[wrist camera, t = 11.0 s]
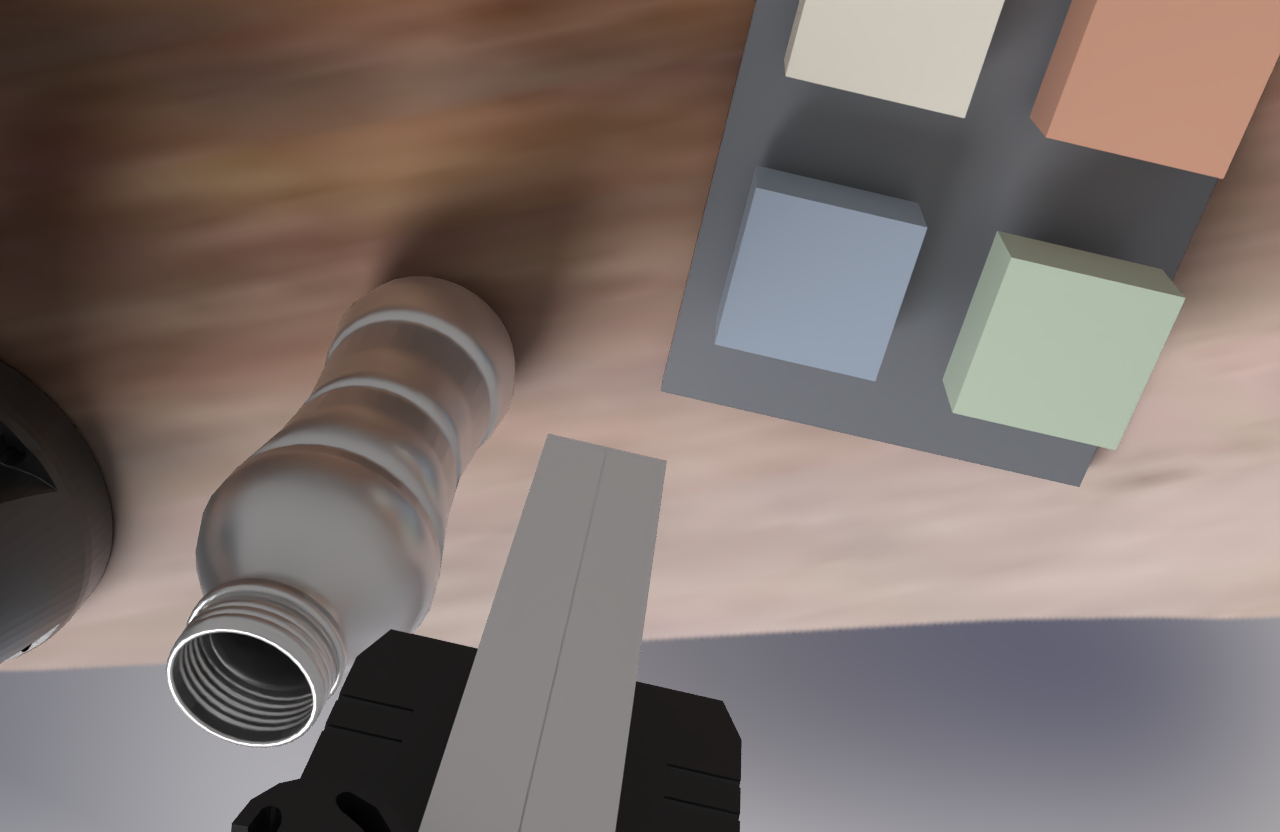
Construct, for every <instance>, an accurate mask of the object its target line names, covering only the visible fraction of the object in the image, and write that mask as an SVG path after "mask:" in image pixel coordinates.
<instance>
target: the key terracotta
mask: <svg viewBox="0 0 1280 832" xmlns="http://www.w3.org/2000/svg"><path fill="white" fill-rule="evenodd" d="M1279 55H1280V0H1072V2H1071V4H1070V7H1069V10H1068V13H1067V15H1066V18H1065V21H1064V24H1063V26H1062V29H1061V32H1060V35H1059V37H1058V40H1057V43H1056V46H1055V48H1054V51H1053V54H1052V56H1051V59H1050V62H1049V65H1048V67H1047V70H1046V73H1045V76H1044V78H1043V81H1042V84H1041V87H1040V89H1039V92H1038V95H1037V98H1036V100H1035V103H1034V106H1033V109H1032V111H1031V114H1030V118H1031V120H1032V121H1033V122H1034V123H1035V125H1036V126H1037V127H1038V128H1039V130H1040V131H1041V132H1042V133H1043V135H1044V136H1045V137H1046V138H1050V139H1055V140H1059V141H1063V142H1067V143H1072V144H1076V145H1080V146H1084V147H1089V148H1093V149H1097V150H1101V151H1106V152H1110V153H1114V154H1118V155H1123V156H1127V157H1131V158H1135V159H1140V160H1144V161H1148V162H1152V163H1157V164H1161V165H1165V166H1170V167H1174V168H1178V169H1182V170H1187V171H1191V172H1195V173H1199V174H1204V175H1208V176H1212V177H1216V178H1221V179H1224V177H1225V174H1226V172H1227V170H1228V168H1229V165H1230V163H1231V161H1232V159H1233V157H1234V154H1235V152H1236V150H1237V148H1238V146H1239V143H1240V141H1241V139H1242V137H1243V135H1244V132H1245V130H1246V128H1247V126H1248V123H1249V121H1250V119H1251V117H1252V115H1253V112H1254V110H1255V108H1256V106H1257V104H1258V101H1259V99H1260V97H1261V95H1262V93H1263V90H1264V88H1265V86H1266V84H1267V82H1268V79H1269V77H1270V75H1271V73H1272V70H1273V68H1274V66H1275V64H1276V62H1277V59H1278V57H1279Z"/></svg>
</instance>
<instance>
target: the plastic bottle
mask: <svg viewBox="0 0 1280 832" xmlns="http://www.w3.org/2000/svg"><path fill="white" fill-rule="evenodd" d="M514 381H515V358H514V351H513V346H512V343H511V340H510V337H509V334H508V332H507V330H506V328H505V326H504V325H503V323H502V321H501V320H500V318H499V317H498V316H497V314H496V313H495V312H494V311H493V310H492V309H491V307H490V306H489V305H488V304H487V303H485V302H484V301H483V300H482V299H481V298H479V297H478V296H477V295H476V294H474V293H473V292H471V291H469V290H467V289H466V288H464V287H462V286H460V285H458V284H455V283H453V282H450V281H447V280H444V279H440V278H434V277H429V276H409V277H404V278H399V279H394V280H392V281H389V282H387V283H385V284H382V285H380V286H379V287H377V288H376V289H374V290H372V291H371V292H369V293H368V294H366V295H365V296H364V297H362V298H361V299H359V300H358V301H357V302H355V303H354V304H353V305H352V306H351V307H350V308H349V309H348V311H347V312H346V313H345V314H344V315H343V317H342V319H341V321H340V323H339V325H338V327H337V329H336V331H335V333H334V336H333V338H332V341H331V344H330V346H329V350H328V354H327V358H326V362H325V367H324V370H323V372H322V374H321V376H320V378H319V380H318V382H317V384H316V386H315V388H314V390H313V392H312V394H311V396H310V397H309V399H308V400H307V401H306V402H305V403H304V404H303V406H302V407H301V408H300V409H299V410H298V412H297V413H296V414H295V415H294V416H293V417H292V418H291V420H290V421H289V422H288V423H287V424H286V426H285V427H284V428H283V429H282V430H281V431H280V432H278V433H277V434H276V435H275V436H274V437H273V438H271V439H270V440H269V441H268V442H267V443H266V444H264V445H263V446H262V447H261V448H260V449H258V450H257V451H256V452H255V453H254V454H253V455H251V456H250V457H249V458H248V459H247V460H246V461H244V462H243V463H242V464H241V465H240V466H238V467H237V468H236V469H235V470H234V472H233V473H232V474H231V475H230V476H229V477H228V478H227V479H226V480H225V481H224V482H223V483H222V485H221V486H220V487H219V488H218V489H217V490H216V491H215V493H214V494H213V495H212V496H211V498H210V500H209V502H208V504H207V506H206V508H205V510H204V512H203V516H202V521H201V526H200V531H199V537H198V542H197V547H196V567H197V573H198V577H199V581H200V585H201V589H202V593H203V598H202V599H201V600H200V601H199V603H198V604H197V605H196V607H195V608H194V610H193V611H192V613H191V615H190V617H189V619H188V621H187V626H186V628H185V630H184V631H183V633H182V634H181V635H180V637H179V638H178V639H177V641H176V642H175V644H174V646H173V648H172V650H171V652H170V655H169V657H168V661H167V666H166V678H167V683H168V687H169V689H170V693H171V695H172V696H173V698H174V700H175V701H176V704H177V705H178V706H179V707H180V709H181V710H182V711H183V712H184V713H185V715H186V716H187V717H189V718H190V719H191V720H192V721H193V722H194V723H195V724H196V725H198V726H199V727H201V728H202V729H204V730H205V731H207V732H208V733H210V734H212V735H214V736H216V737H218V738H220V739H222V740H225V741H228V742H231V743H234V744H237V745H243V746H248V747H261V748H267V747H275V746H281V745H284V744H287V743H290V742H293V741H294V740H296V739H298V738H299V737H301V736H303V735H304V734H305V733H306V732H307V731H308V730H309V729H310V727H311V726H312V725H313V724H314V723H315V721H316V719H317V718H318V716H319V715H320V713H321V711H322V709H323V707H324V705H325V703H326V701H327V700H328V699H329V698H330V697H331V696H332V695H333V694H334V692H335V691H336V689H337V687H338V686H339V684H340V682H341V680H342V678H343V676H344V674H345V671H348V670H351V668H352V665H353V663H354V661H355V659H356V657H357V656H358V655H359V654H360V653H362V652H363V651H364V650H365V649H367V648H368V647H369V646H370V645H372V644H373V643H374V642H375V641H377V640H378V639H379V638H380V637H382V636H383V635H384V634H385V633H387V632H388V631H389V630H390V629H393V630H397V631H402V632H406V633H412V632H413V631H415V630H416V629H417V628H418V627H419V626H420V624H421V623H422V621H423V619H424V618H425V616H426V615H427V613H428V612H429V610H430V607H431V603H432V600H433V597H434V594H435V590H436V586H437V582H438V579H439V576H440V567H441V561H442V554H443V547H444V540H445V533H446V526H447V519H448V514H449V511H450V508H451V505H452V502H453V498H454V495H455V492H456V489H457V486H458V482H459V479H460V477H461V475H462V474H463V472H464V470H465V468H466V467H467V465H468V463H469V462H470V460H471V458H472V457H473V455H474V453H475V452H476V450H477V449H478V448H479V447H480V446H481V445H482V444H483V443H484V442H485V441H486V440H487V439H488V438H489V437H490V436H491V434H492V433H493V432H494V430H495V429H496V428H497V426H498V425H499V423H500V422H501V420H502V419H503V417H504V415H505V414H506V412H507V411H508V409H509V406H510V403H511V400H512V397H513V392H514Z"/></svg>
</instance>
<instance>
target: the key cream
mask: <svg viewBox="0 0 1280 832" xmlns="http://www.w3.org/2000/svg"><path fill="white" fill-rule="evenodd" d="M1004 1H1005V0H799V4H798V8H797V12H796V16H795V19H794V23H793V27H792V31H791V35H790V38H789V42H788V46H787V50H786V54H785V58H784V65H785V76H787V77H791V78H795V79H799V80H804V81H808V82H812V83H816V84H821V85H825V86H829V87H833V88H838V89H842V90H846V91H850V92H855V93H859V94H863V95H867V96H872V97H876V98H880V99H884V100H889V101H893V102H897V103H901V104H906V105H910V106H914V107H918V108H923V109H927V110H931V111H936V112H940V113H944V114H948V115H953V116H957V117H961V118H965V116H966V113H967V110H968V107H969V104H970V101H971V98H972V95H973V92H974V89H975V86H976V83H977V80H978V77H979V74H980V72H981V69H982V66H983V63H984V60H985V57H986V54H987V51H988V48H989V45H990V42H991V39H992V36H993V33H994V30H995V27H996V24H997V21H998V19H999V16H1000V13H1001V10H1002V7H1003V4H1004Z"/></svg>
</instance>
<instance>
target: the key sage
mask: <svg viewBox="0 0 1280 832" xmlns="http://www.w3.org/2000/svg"><path fill="white" fill-rule="evenodd" d="M1184 301H1185V297H1184V295H1183V294H1182V293H1181V292H1180V290H1179V289H1178V288H1177V287H1176V286H1175V284H1174V283H1173V282H1172V281H1171V280H1170V278H1169V277H1168V276H1167V275H1166V273H1165V272H1164V271H1163V270H1162V269H1159V268H1155V267H1151V266H1147V265H1142V264H1138V263H1134V262H1129V261H1125V260H1121V259H1116V258H1112V257H1108V256H1104V255H1099V254H1095V253H1091V252H1086V251H1082V250H1078V249H1074V248H1069V247H1065V246H1061V245H1056V244H1052V243H1048V242H1044V241H1039V240H1035V239H1031V238H1026V237H1022V236H1018V235H1014V234H1009V233H1005V232H1001V231H997V233H996V235H995V238H994V241H993V244H992V246H991V249H990V252H989V254H988V257H987V260H986V263H985V265H984V268H983V271H982V273H981V276H980V279H979V282H978V284H977V287H976V290H975V292H974V295H973V298H972V301H971V303H970V306H969V309H968V311H967V314H966V317H965V319H964V322H963V325H962V328H961V330H960V333H959V336H958V338H957V341H956V344H955V347H954V349H953V352H952V355H951V357H950V360H949V363H948V366H947V368H946V371H945V374H944V376H943V379H942V380H943V383H944V387H945V390H946V393H947V396H948V400H949V403H950V406H951V410H952V413H955V414H960V415H964V416H968V417H973V418H977V419H982V420H986V421H990V422H995V423H999V424H1003V425H1008V426H1012V427H1016V428H1021V429H1025V430H1029V431H1034V432H1038V433H1042V434H1047V435H1051V436H1055V437H1060V438H1064V439H1069V440H1073V441H1077V442H1082V443H1086V444H1090V445H1095V446H1099V447H1103V448H1108V449H1112V450H1116V449H1117V447H1118V444H1119V442H1120V440H1121V438H1122V436H1123V433H1124V431H1125V429H1126V427H1127V425H1128V423H1129V420H1130V418H1131V416H1132V414H1133V412H1134V410H1135V407H1136V405H1137V403H1138V401H1139V399H1140V396H1141V394H1142V392H1143V390H1144V388H1145V386H1146V383H1147V381H1148V379H1149V377H1150V375H1151V372H1152V370H1153V368H1154V366H1155V364H1156V362H1157V359H1158V357H1159V355H1160V353H1161V351H1162V349H1163V346H1164V344H1165V342H1166V340H1167V338H1168V335H1169V333H1170V331H1171V329H1172V327H1173V325H1174V322H1175V320H1176V318H1177V316H1178V314H1179V312H1180V309H1181V307H1182V305H1183V303H1184Z"/></svg>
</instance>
